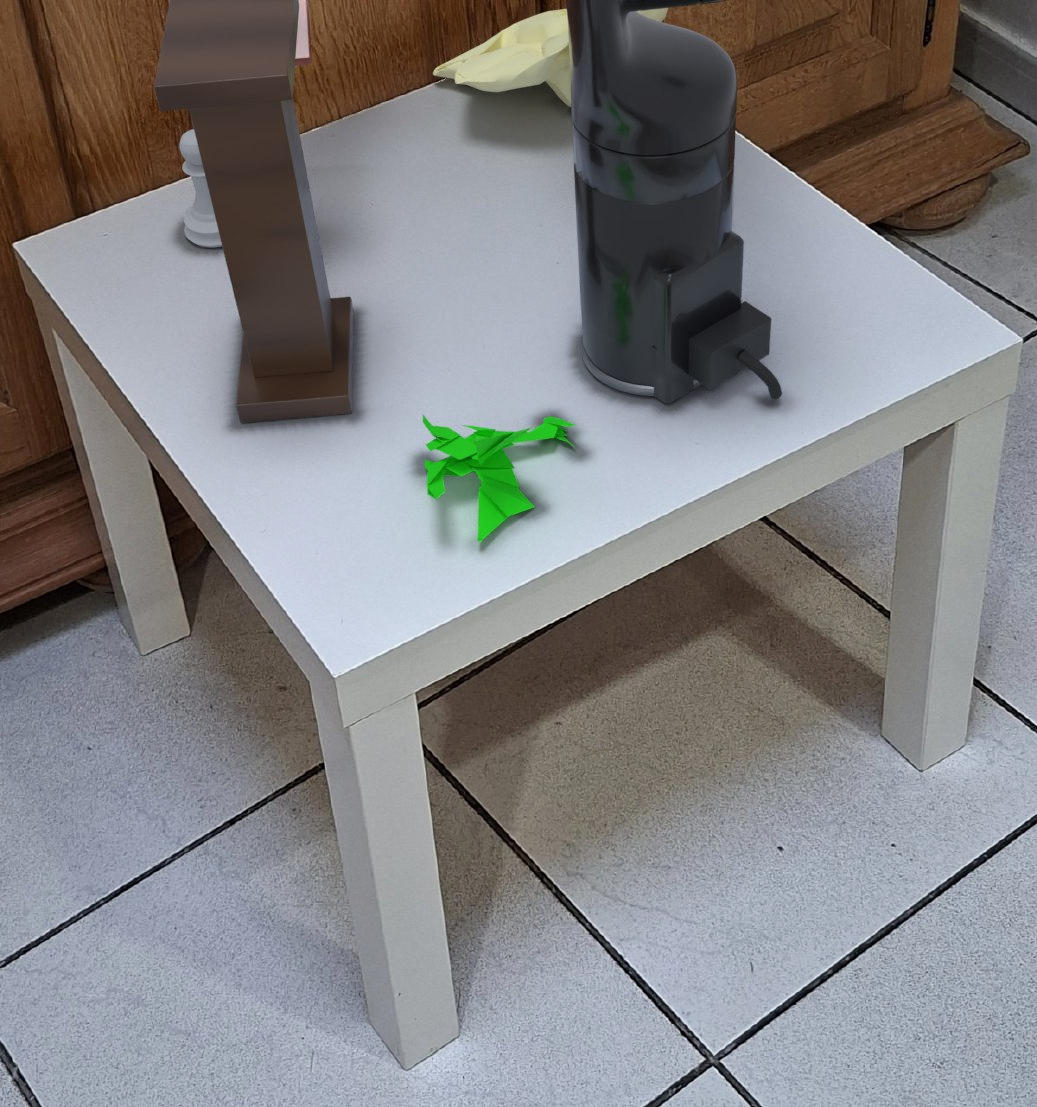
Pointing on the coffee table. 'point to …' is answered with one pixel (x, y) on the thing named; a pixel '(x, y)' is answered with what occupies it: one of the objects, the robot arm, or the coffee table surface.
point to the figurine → (486, 466)
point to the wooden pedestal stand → (261, 201)
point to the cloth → (523, 56)
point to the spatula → (303, 36)
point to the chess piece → (198, 197)
